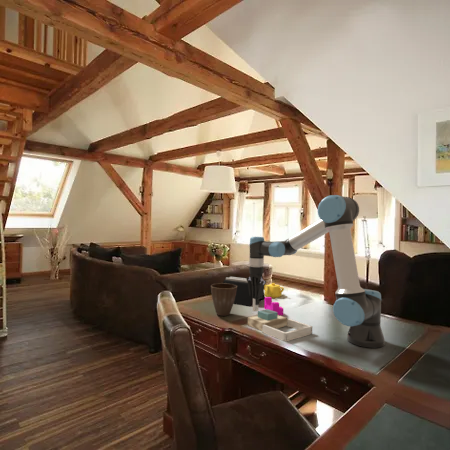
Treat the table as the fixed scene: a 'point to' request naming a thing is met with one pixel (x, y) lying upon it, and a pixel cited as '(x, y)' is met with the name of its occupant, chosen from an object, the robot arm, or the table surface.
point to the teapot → (273, 290)
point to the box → (287, 336)
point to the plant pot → (223, 297)
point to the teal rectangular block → (267, 314)
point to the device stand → (241, 291)
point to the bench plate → (267, 322)
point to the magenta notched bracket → (273, 306)
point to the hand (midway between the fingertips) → (255, 310)
